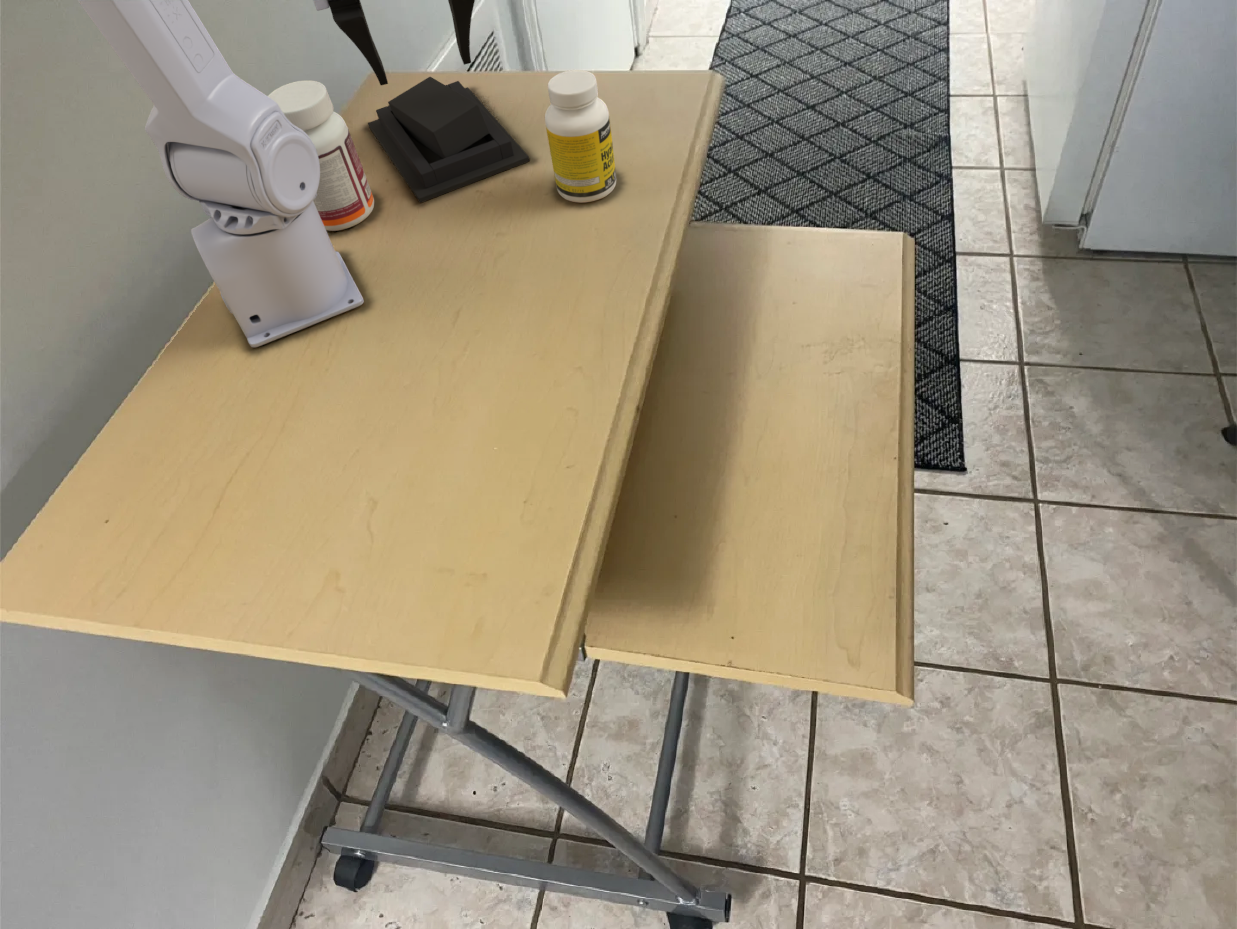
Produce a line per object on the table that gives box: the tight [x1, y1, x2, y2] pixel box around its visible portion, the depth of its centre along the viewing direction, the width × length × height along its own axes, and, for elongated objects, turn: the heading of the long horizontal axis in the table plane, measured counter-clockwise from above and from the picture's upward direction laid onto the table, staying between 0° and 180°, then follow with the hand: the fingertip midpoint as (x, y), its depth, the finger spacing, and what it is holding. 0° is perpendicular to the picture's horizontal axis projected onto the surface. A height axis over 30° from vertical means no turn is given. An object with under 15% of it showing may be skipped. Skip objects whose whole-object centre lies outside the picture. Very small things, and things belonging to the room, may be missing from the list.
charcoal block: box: [387, 76, 490, 159], centre depth 86 cm, size 10×5×3 cm, turn 36°
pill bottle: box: [267, 79, 375, 232], centre depth 78 cm, size 6×6×11 cm
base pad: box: [367, 80, 531, 204], centre depth 87 cm, size 16×11×2 cm
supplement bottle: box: [544, 69, 617, 204], centre depth 77 cm, size 5×5×10 cm
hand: (424, 69), depth 82 cm, fingers open, 7 cm apart
